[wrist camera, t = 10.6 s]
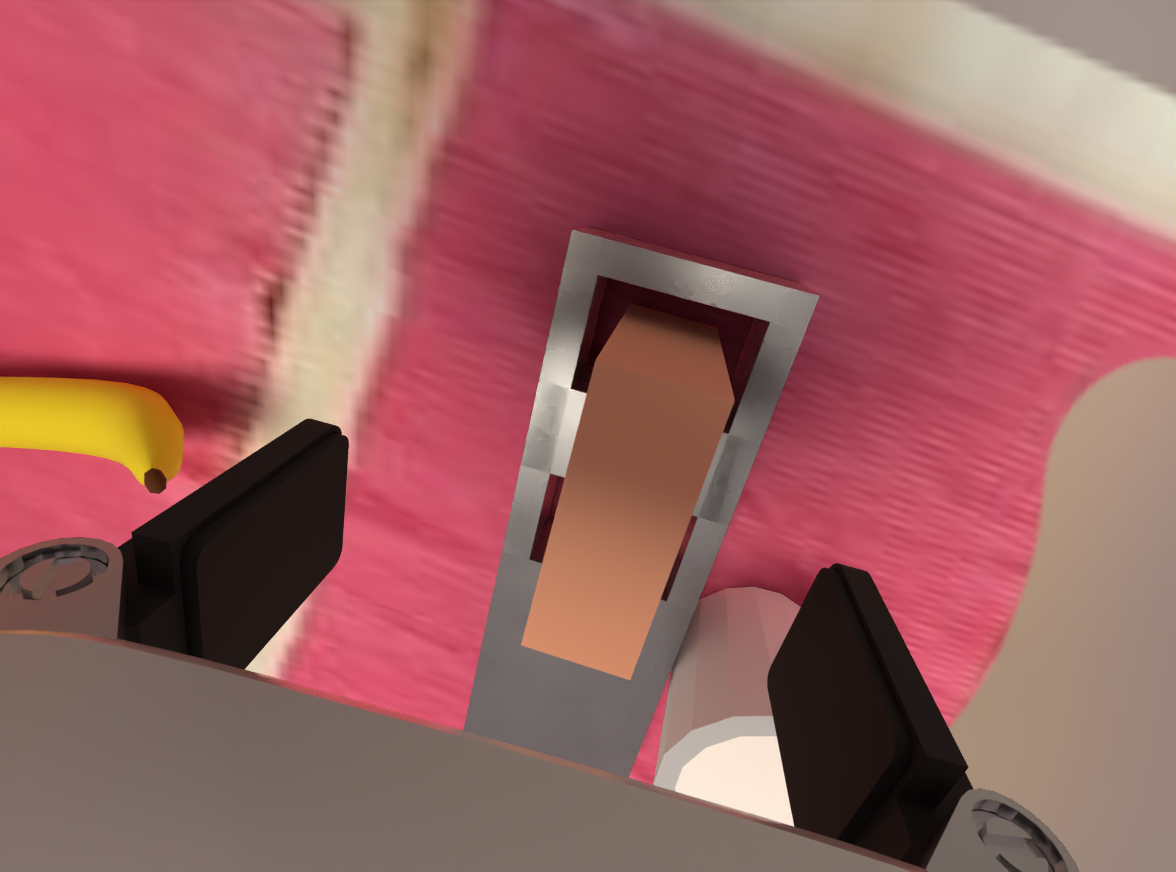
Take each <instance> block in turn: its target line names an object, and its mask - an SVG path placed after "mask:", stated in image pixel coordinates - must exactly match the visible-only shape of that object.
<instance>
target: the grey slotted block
mask: <svg viewBox="0 0 1176 872" xmlns="http://www.w3.org/2000/svg"><path fill="white" fill-rule="evenodd" d="M608 278H611V279H615V280H618V281H622V282H626V283H630V284H633V285H637V286H641V287H644V288H648V289H652V290H655V291H659V292H663V293H666V294H670V295H674V296H677V297H681V298H685V299H688V300H692V301H696V302H699V303H703V304H707V305H710V306H714V307H718V308H721V309H725V310H729V311H732V312H736V313H740V314H743V315H747V316H751V317H754V319H753V322H752V325H751V327H750V330H749V333H748V336H747V339H746V341H745V344H744V347H743V350H742V353H741V355H740V358H739V361H738V364H737V367H736V369H735V372H734V375H733V378H732V381H731V387H732V391H733V395H734V399H735V401H734V404H733V406H732V409H731V412H730V414H729V417H728V420H727V423H726V425H725V428H724V431H723V433H722V436H721V439H720V441H719V444H718V447H717V449H716V452H715V455H714V457H713V460H712V463H711V465H710V468H709V471H708V473H707V476H706V479H705V481H704V484H703V487H702V489H701V492H700V495H699V497H698V500H697V503H696V506H695V508H694V511H693V514H692V516H691V519H690V522H689V524H688V527H687V530H686V532H685V535H684V538H683V540H682V543H681V546H680V548H679V551H678V554H677V556H676V559H675V562H674V564H673V567H672V570H671V572H670V575H669V578H668V580H667V583H666V586H665V589H664V591H663V594H662V597H661V599H660V602H659V605H658V607H657V610H656V613H655V615H654V618H653V621H652V623H651V626H650V629H649V631H648V634H647V637H646V639H645V642H644V645H643V647H642V650H641V653H640V655H639V658H638V661H637V664H636V666H635V669H634V672H633V674H632V677H631V680H628V679H624V678H621V677H618V676H615V675H612V674H609V673H606V672H603V671H600V670H596V669H593V668H590V667H587V666H584V665H581V664H578V663H575V662H571V661H568V660H565V659H562V658H559V657H556V656H553V655H550V654H547V653H543V652H540V651H537V650H534V649H531V648H528V647H525V646H522V645H521V643H522V639H523V635H524V631H525V628H526V624H527V620H528V616H529V612H530V609H531V605H532V601H533V597H534V593H535V589H536V586H537V582H538V578H539V574H540V570H541V567H542V563H543V559H544V555H545V551H546V547H547V544H548V540H549V536H550V532H551V528H552V525H553V521H554V519H551V518H548V517H549V513H550V509H551V505H552V501H553V497H554V493H555V489H556V485H557V481H558V477H559V476H561V477H564V478H565V475H566V471H567V467H568V463H569V460H570V456H571V452H572V448H573V444H574V441H575V437H576V433H577V429H578V425H579V421H580V418H581V414H582V410H583V406H584V402H585V399H586V395H587V391H588V387H589V383H590V379H591V376H592V372H593V368H594V367H592V366H589V365H586V364H587V360H588V356H589V352H590V348H591V344H592V340H593V336H594V332H595V328H596V324H597V320H598V316H599V312H600V308H601V304H602V300H603V296H604V292H605V288H606V284H607V280H608ZM819 297H820V296H819V295H818V294H816V293H814V292H813V291H811V290H810V289H808V288H807V287H805V286H804V285H802V284H801V283H798V282H794V281H790V280H786V279H783V278H779V277H775V276H771V275H768V274H764V273H760V272H756V271H753V270H749V269H745V268H742V267H738V266H734V265H730V264H727V263H723V262H719V261H715V260H712V259H708V258H704V257H700V256H697V255H693V254H689V253H685V252H682V251H678V250H674V249H671V248H667V247H663V246H659V245H656V244H652V243H648V242H644V241H641V240H637V239H633V238H629V237H626V236H622V235H618V234H614V233H611V232H607V231H603V230H600V229H596V228H592V227H584V228H578V229H572V231H571V236H570V240H569V245H568V250H567V254H566V259H565V264H564V268H563V273H562V277H561V282H560V287H559V291H558V296H557V300H556V305H555V310H554V314H553V319H552V324H551V328H550V333H549V337H548V342H547V347H546V351H545V356H544V360H543V365H542V370H541V374H540V379H539V384H538V388H537V393H536V397H535V402H534V407H533V411H532V416H531V420H530V425H529V430H528V434H527V439H526V444H525V448H524V453H523V457H522V462H521V467H520V471H519V476H518V480H517V485H516V490H515V494H514V499H513V504H512V508H511V513H510V517H509V522H508V527H507V531H506V536H505V540H504V545H503V550H502V554H501V559H500V564H499V568H498V573H497V577H496V582H495V587H494V591H493V596H492V600H491V605H490V610H489V614H488V619H487V624H486V628H485V633H484V637H483V642H482V647H481V651H480V656H479V660H478V665H477V670H476V674H475V679H474V684H473V688H472V693H471V697H470V702H469V707H468V711H467V716H466V720H465V725H464V730H463V731H467V732H470V733H474V734H477V735H481V736H484V737H488V738H491V739H495V740H498V741H502V742H505V743H509V744H512V745H516V746H519V747H523V748H526V749H530V750H533V751H537V752H540V753H544V754H547V755H551V756H554V757H558V758H561V759H565V760H568V761H572V762H575V763H579V764H582V765H586V766H589V767H593V768H596V769H600V770H603V771H607V772H610V773H614V774H617V775H621V776H624V777H627V778H628V777H629V775H630V772H631V770H632V767H633V765H634V762H635V759H636V757H637V754H638V752H639V749H640V747H641V744H642V742H643V739H644V737H645V734H646V732H647V729H648V727H649V724H650V722H651V719H652V717H653V714H654V712H655V709H656V707H657V704H658V702H659V699H660V697H661V694H662V692H663V689H664V687H665V684H666V681H667V679H668V676H669V674H670V671H671V669H672V666H673V664H674V661H675V659H676V656H677V654H678V651H679V649H680V646H681V644H682V641H683V639H684V636H685V634H686V631H687V629H688V626H689V624H690V621H691V619H692V616H693V614H694V611H695V609H696V606H697V603H698V601H699V598H700V596H701V593H702V591H703V588H704V586H705V583H706V581H707V578H708V576H709V573H710V571H711V568H712V566H713V563H714V561H715V558H716V556H717V553H718V551H719V548H720V546H721V543H722V541H723V538H724V536H725V533H726V531H727V528H728V525H729V523H730V520H731V518H732V515H733V513H734V510H735V508H736V505H737V503H738V500H739V498H740V495H741V493H742V490H743V488H744V485H745V483H746V480H747V478H748V475H749V473H750V470H751V468H752V465H753V463H754V460H755V458H756V455H757V453H758V450H759V447H760V445H761V442H762V440H763V437H764V435H765V432H766V430H767V427H768V425H769V422H770V420H771V417H772V415H773V412H774V410H775V407H776V405H777V402H778V400H779V397H780V395H781V392H782V390H783V387H784V385H785V382H786V380H787V377H788V375H789V372H790V369H791V367H792V364H793V362H794V359H795V357H796V354H797V352H798V349H799V347H800V344H801V342H802V339H803V337H804V334H805V332H806V329H807V327H808V324H809V322H810V319H811V317H812V314H813V312H814V309H815V307H816V304H817V302H818V299H819Z"/></svg>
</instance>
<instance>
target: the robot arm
mask: <svg viewBox="0 0 1176 872" xmlns="http://www.w3.org/2000/svg"><path fill="white" fill-rule="evenodd" d="M348 448H349V441H348V438H347V437H346V436H344V435H342V432H341V429H340V428H339V427H338V426H335V425H332V424H328V423H324V422H321V421H317V420H313V419H306V420H304V421H302V422H301V423H299V424H298V425H296V426H295V427H293V428H292V429H290V430H288V431H287V432H285V433H284V434H282V435H281V436H279V437H278V438H276V439H275V440H273V441H271V442H270V443H268V444H267V445H265V446H264V447H262V448H261V449H259V450H258V451H256V452H255V453H253V454H251V455H250V456H248V457H247V458H245V459H244V460H242V461H241V462H239V463H238V464H236V465H235V466H233V467H231V468H230V469H228V470H227V471H225V472H224V473H222V474H221V475H219V476H218V477H216V478H214V479H213V480H211V481H210V482H208V483H207V484H205V485H204V486H202V487H201V488H199V489H198V490H196V491H194V492H193V493H191V494H190V495H188V496H187V497H185V498H184V499H182V500H181V501H179V502H178V503H176V504H174V505H173V506H171V507H170V508H168V509H167V510H165V511H164V512H162V513H161V514H159V515H157V516H156V517H154V518H153V519H151V520H150V521H148V522H147V523H145V524H144V525H142V526H141V527H139V528H137V529H136V530H134V531H133V532H132V538H131V539H130V540H128V541H127V542H125V543H124V544H122V545H121V546H119V547H118V548H117V547H115V546H114V545H113V544H111V543H108V542H106V541H103V540H100V539H93V538H85V537H75V538H60V539H55V540H49V541H44V542H39V543H36V544H33V545H30V546H27V547H24V548H21V549H18V550H16V551H14V552H12V553H10V554H8V555H6V556H4V557H2V558H1V559H0V872H1079V870H1078V867H1077V865H1076V863H1075V861H1074V860H1073V858H1072V856H1071V855H1070V854H1069V852H1068V850H1067V849H1066V847H1065V846H1064V845H1063V843H1062V842H1061V841H1060V840H1059V839H1058V838H1057V836H1056V835H1055V834H1054V833H1053V832H1052V831H1051V830H1050V829H1049V828H1048V827H1047V826H1046V825H1045V824H1044V823H1043V822H1042V821H1041V820H1040V819H1038V818H1037V817H1036V816H1035V815H1034V814H1033V813H1031V812H1030V811H1029V810H1027V809H1026V808H1024V807H1023V806H1021V805H1020V804H1018V803H1017V802H1015V801H1014V800H1012V799H1010V798H1008V797H1006V796H1004V795H1002V794H999V793H997V792H995V791H990V790H985V789H981V788H978V789H973V787H972V785H971V783H970V781H969V779H968V778H967V775H966V773H965V771H966V770H967V769H968V765H967V764H966V762H965V760H964V758H963V756H962V754H961V752H960V750H959V748H958V746H957V744H956V742H955V740H954V738H953V736H952V734H951V732H950V730H949V728H948V726H947V724H946V722H945V720H944V718H943V716H942V715H941V713H940V711H939V709H938V707H937V705H936V703H935V701H934V699H933V697H932V695H931V693H930V691H929V689H928V687H927V685H926V683H925V681H924V679H923V677H922V675H921V673H920V671H919V670H918V668H917V666H916V664H915V662H914V660H913V658H912V656H911V654H910V652H909V650H908V648H907V646H906V644H905V642H904V640H903V638H902V636H901V634H900V632H899V630H898V628H897V626H896V625H895V623H894V621H893V619H892V617H891V615H890V613H889V611H888V609H887V607H886V605H885V603H884V601H883V599H882V597H881V595H880V593H879V591H878V589H877V587H876V585H875V583H874V582H873V580H872V578H871V576H870V574H869V573H868V572H866V571H864V570H860V569H856V568H853V567H849V566H845V565H842V564H838V563H836V564H833V565H832V566H831V567H830V568H829V569H828V568H822V569H821V570H820V571H819V573H818V574H817V576H816V578H815V580H814V582H813V584H812V586H811V588H810V590H809V592H808V594H807V596H806V598H805V600H804V602H803V604H802V606H801V608H800V610H799V612H798V614H797V616H796V617H795V619H794V621H793V623H792V625H791V627H790V629H789V631H788V633H787V635H786V637H785V639H784V641H783V643H782V645H781V647H780V649H779V651H778V653H777V655H776V657H775V659H774V660H773V662H772V664H771V666H770V669H769V672H768V677H767V689H768V694H769V699H770V704H771V709H772V715H773V720H774V725H775V730H776V735H777V740H778V746H779V751H780V756H781V761H782V766H783V771H784V777H785V782H786V787H787V792H788V797H789V802H790V808H791V813H792V818H793V823H794V826H790V825H787V824H784V823H781V822H778V821H774V820H771V819H768V818H765V817H761V816H758V815H754V814H751V813H747V812H744V811H741V810H737V809H734V808H730V807H727V806H723V805H720V804H717V803H713V802H710V801H706V800H703V799H699V798H696V797H693V796H689V795H686V794H682V793H679V792H675V791H672V790H669V789H665V788H662V787H658V786H655V785H651V784H648V783H645V782H641V781H638V780H634V779H631V778H627V777H624V776H621V775H617V774H614V773H610V772H607V771H603V770H600V769H596V768H593V767H589V766H586V765H582V764H579V763H575V762H572V761H568V760H565V759H561V758H558V757H554V756H551V755H547V754H544V753H540V752H537V751H533V750H530V749H526V748H523V747H519V746H516V745H512V744H509V743H505V742H502V741H498V740H495V739H491V738H488V737H484V736H481V735H477V734H474V733H470V732H467V731H463V730H460V729H456V728H452V727H449V726H445V725H442V724H438V723H435V722H431V721H428V720H424V719H421V718H417V717H414V716H410V715H406V714H403V713H399V712H396V711H392V710H388V709H385V708H381V707H378V706H374V705H371V704H367V703H363V702H360V701H356V700H353V699H349V698H345V697H342V696H338V695H335V694H331V693H327V692H324V691H320V690H317V689H313V688H310V687H306V686H302V685H299V684H295V683H292V682H288V681H284V680H281V679H277V678H274V677H270V676H266V675H262V674H259V673H255V672H251V671H247V670H244V669H245V668H246V667H247V666H248V665H249V664H250V662H251V661H252V660H253V659H254V658H255V657H256V656H257V654H258V653H259V652H260V651H261V650H262V649H263V648H264V646H265V645H266V644H267V643H268V642H269V641H270V640H271V638H272V637H273V636H274V635H275V634H276V633H277V632H278V630H279V629H280V628H281V627H282V626H283V625H284V624H285V622H286V621H287V620H288V619H289V618H290V617H291V616H292V614H293V613H294V612H295V611H296V610H297V609H298V608H299V606H300V605H301V604H302V603H303V602H304V601H305V600H306V598H307V597H308V596H309V595H310V594H311V593H312V592H313V590H314V589H315V588H316V587H317V586H318V585H319V584H320V582H321V581H322V580H323V579H324V578H325V577H326V576H327V574H328V573H329V572H330V571H331V570H332V569H333V568H334V566H335V565H336V563H337V562H338V560H339V557H340V555H341V551H342V544H343V528H344V512H345V496H346V480H347V464H348Z"/></svg>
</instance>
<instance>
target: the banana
mask: <svg viewBox="0 0 1176 872" xmlns="http://www.w3.org/2000/svg"><path fill="white" fill-rule="evenodd" d="M183 444H184V431H183V426H182V424H181V422H180V421H179V419H178V418H177V416H176V415H175V413H174V412H173V410H172V409H171V407H170V406H169V404H168V403H167V401H166V400H165V399H164V398H163V397H162V396H161V395H160V394H158V393H156V392H154V391H152V390H150V389H148V388H145V387H141V386H137V385H133V384H128V383H123V382H114V381H105V380H96V379H74V378H45V377H0V447H13V448H29V449H42V450H56V451H64V452H72V453H81V454H88V455H93V456H98V457H103V458H108V459H111V460H113V461H116V462H119V463H121V464H123V465H124V466H126V467H127V468H128V469H130V470H131V472H132V473H133V475H134V476H135V477H136V479H137V480H138V481H139V482H140V483H141V484H142V485H145V486H146V487H147V489H148V490H149V492H150V493H157V494H159V493H161V492H162V491H163V490H165V489H166V483H167V482H168V481H169V480H171V479H172V478H174V477H175V475H176V474H177V473H178V472H179V471H180V468H181V464H182V457H183Z"/></svg>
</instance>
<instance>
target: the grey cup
mask: <svg viewBox="0 0 1176 872" xmlns="http://www.w3.org/2000/svg"><path fill="white" fill-rule="evenodd" d="M800 608H801V607H800V606H799V605H797V604H796V603H794V602H793V601H791V600H790V599H788V598H787V597H786V596H784V595H783V594H780V593H777V592H773V591H769V590H765V589H762V588H758V587H738V588H725V589H723V590H720V591H718V592H715V593H713V594H711V595H708V596H706V597H704V598H701V599H700V600H699V601H698V603H697V606H696V609H695V611H694V614H693V616H692V619H691V621H690V624H689V626H688V629H687V631H686V634H685V636H684V639H683V641H682V644H681V646H680V649H679V651H678V654H677V656H676V659H675V661H674V664H673V666H672V672H671V678H670V684H669V691H668V697H667V703H666V709H665V715H664V722H663V728H662V734H661V740H660V746H659V753H658V759H657V765H656V771H655V777H654V783H653V785H655V786H658V787H662V788H665V789H669V790H672V791H675V792H679V793H682V794H686V795H689V796H693V797H696V798H699V799H703V800H706V801H710V802H713V803H717V804H720V805H723V806H727V807H730V808H734V809H737V810H741V811H744V812H747V813H751V814H754V815H758V816H761V817H765V818H768V819H771V820H774V821H778V822H781V823H784V824H787V825H790V826H794V823H793V818H792V813H791V808H790V802H789V797H788V792H787V787H786V782H785V777H784V771H783V766H782V761H781V756H780V751H779V746H778V740H777V735H776V730H775V725H774V720H773V715H772V709H771V704H770V699H769V694H768V689H767V677H768V672H769V669H770V666H771V664H772V662H773V660H774V659H775V657H776V655H777V653H778V651H779V649H780V647H781V645H782V643H783V641H784V639H785V637H786V635H787V633H788V631H789V629H790V627H791V625H792V623H793V621H794V619H795V617H796V616H797V614H798V612H799V610H800Z"/></svg>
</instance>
